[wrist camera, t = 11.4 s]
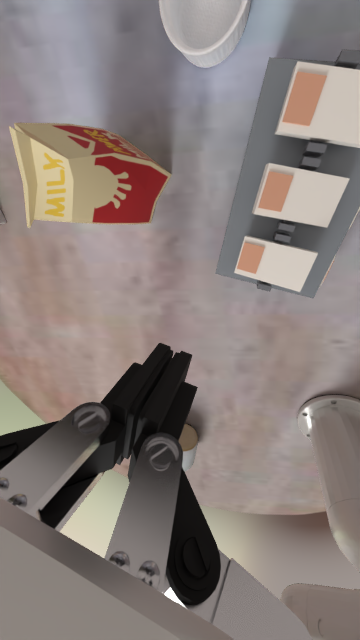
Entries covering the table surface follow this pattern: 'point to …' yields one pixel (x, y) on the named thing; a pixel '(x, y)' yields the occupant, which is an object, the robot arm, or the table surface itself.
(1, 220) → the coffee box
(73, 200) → the milk carton
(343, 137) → the rocker
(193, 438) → the ceramic mug
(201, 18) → the ramekin
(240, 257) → the rocker
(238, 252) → the switch unit
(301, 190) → the block
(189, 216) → the table surface
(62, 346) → the table surface
